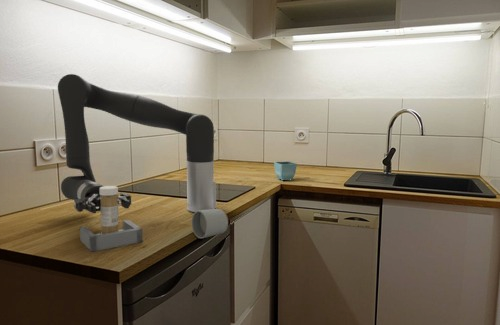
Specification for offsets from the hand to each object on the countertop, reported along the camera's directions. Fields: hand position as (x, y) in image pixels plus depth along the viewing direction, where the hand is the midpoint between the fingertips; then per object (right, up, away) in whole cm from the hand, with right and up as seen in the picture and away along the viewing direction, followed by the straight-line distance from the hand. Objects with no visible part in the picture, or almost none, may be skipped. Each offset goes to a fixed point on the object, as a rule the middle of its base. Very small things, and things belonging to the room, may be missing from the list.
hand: (111, 207), depth 101 cm
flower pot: (+54, +2, +95) cm, 109 cm away
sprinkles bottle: (-1, -8, +3) cm, 9 cm away
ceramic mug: (+24, -9, +9) cm, 27 cm away
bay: (-1, -9, +2) cm, 10 cm away
